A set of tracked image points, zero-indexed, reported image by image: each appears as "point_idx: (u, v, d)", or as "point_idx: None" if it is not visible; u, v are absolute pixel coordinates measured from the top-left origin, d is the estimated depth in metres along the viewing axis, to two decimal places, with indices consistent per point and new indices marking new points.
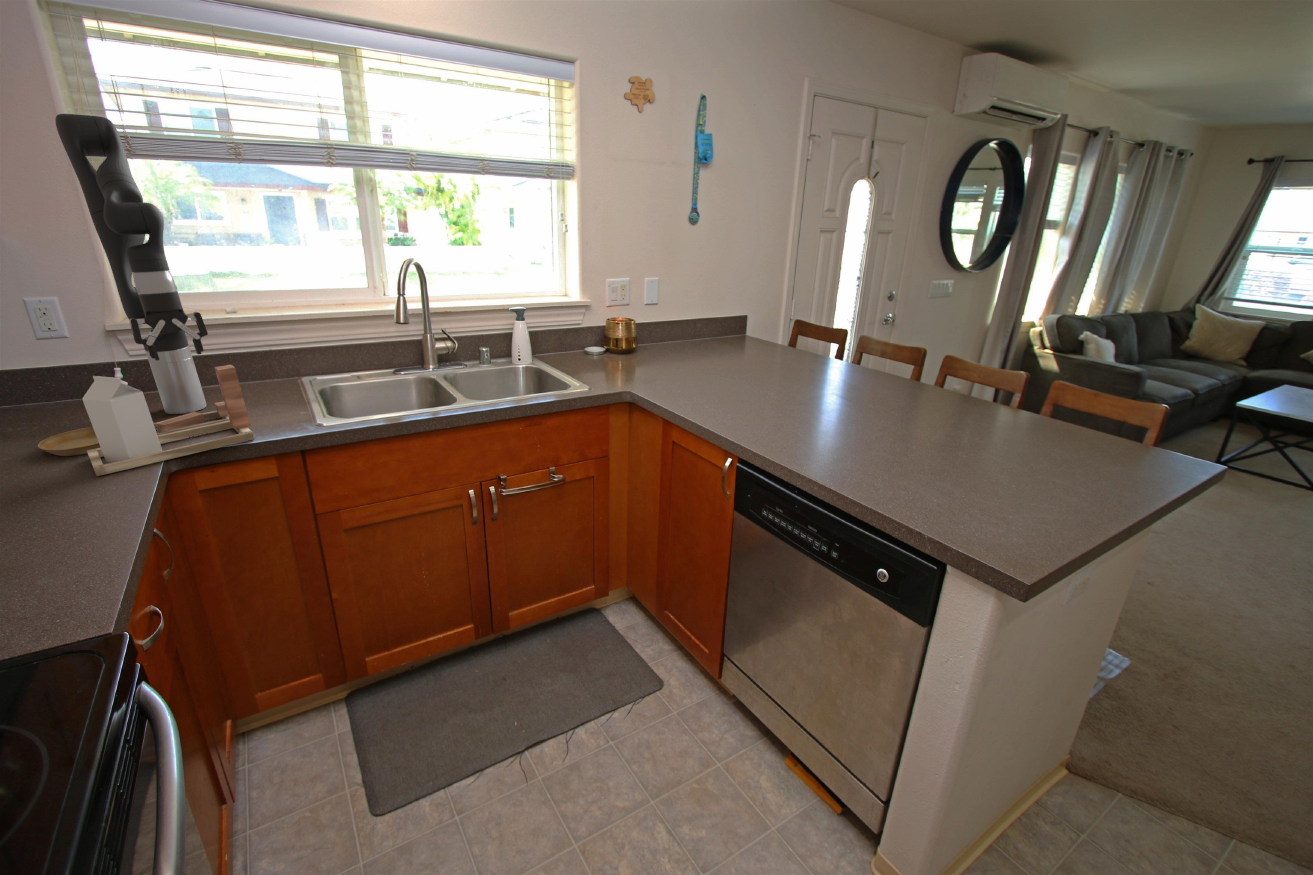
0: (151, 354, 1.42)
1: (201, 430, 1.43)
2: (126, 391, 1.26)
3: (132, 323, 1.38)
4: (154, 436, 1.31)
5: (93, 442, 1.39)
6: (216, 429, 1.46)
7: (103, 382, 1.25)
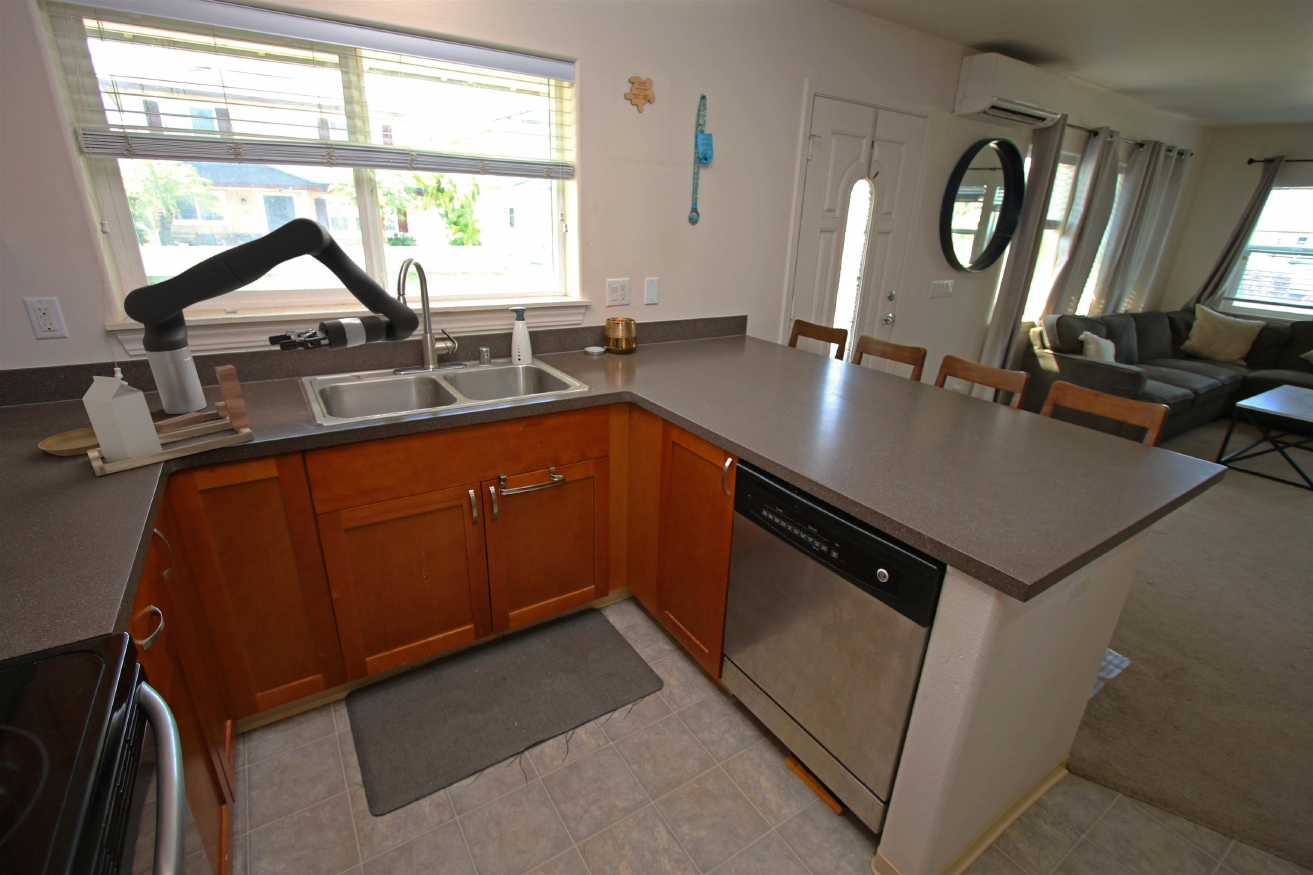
0: (289, 348, 1.43)
1: (201, 430, 1.43)
2: (126, 391, 1.26)
3: None
4: (154, 436, 1.31)
5: (93, 442, 1.39)
6: (216, 429, 1.46)
7: (103, 382, 1.25)
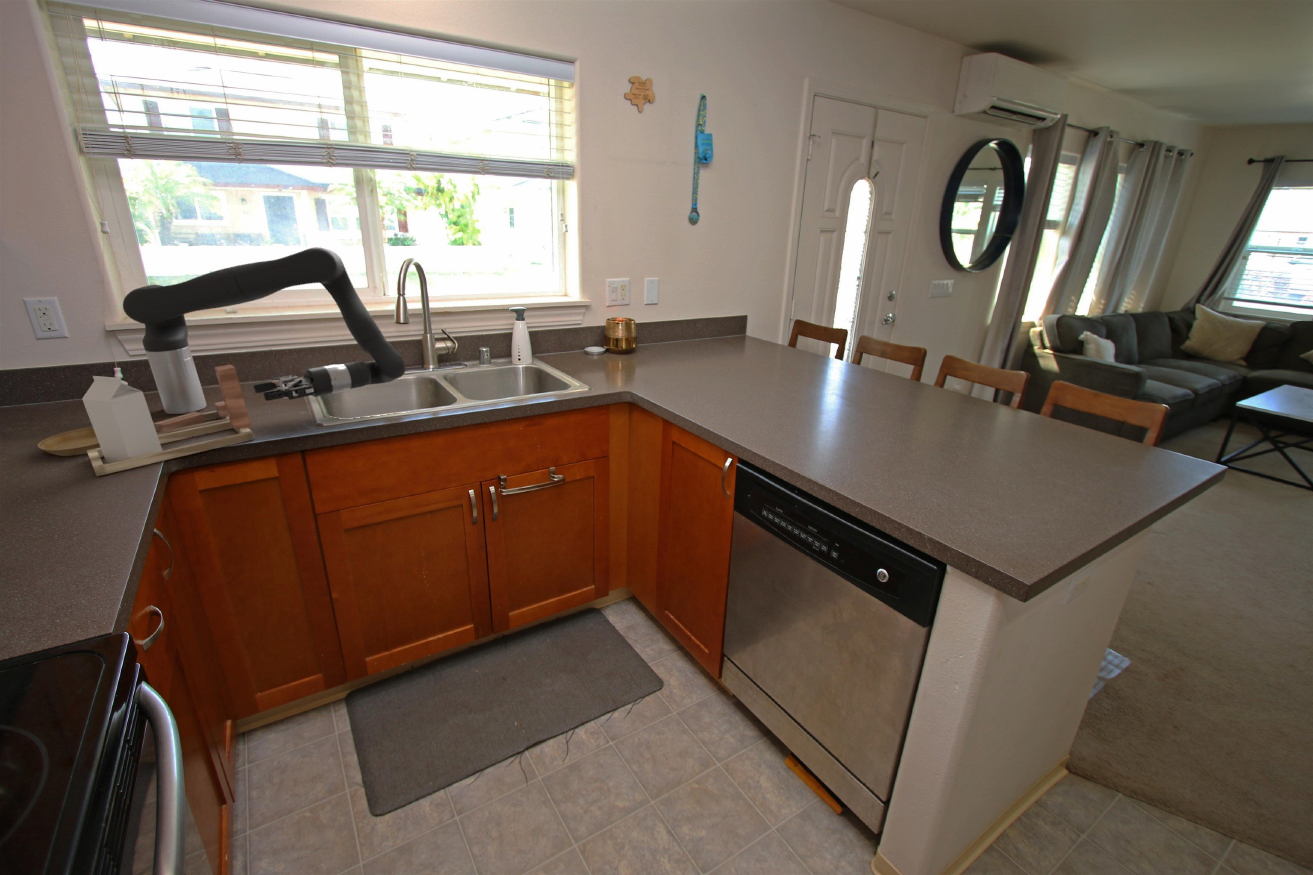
0: None
1: (201, 430, 1.43)
2: (126, 391, 1.26)
3: None
4: (154, 436, 1.31)
5: (93, 442, 1.39)
6: (216, 429, 1.46)
7: (103, 382, 1.25)
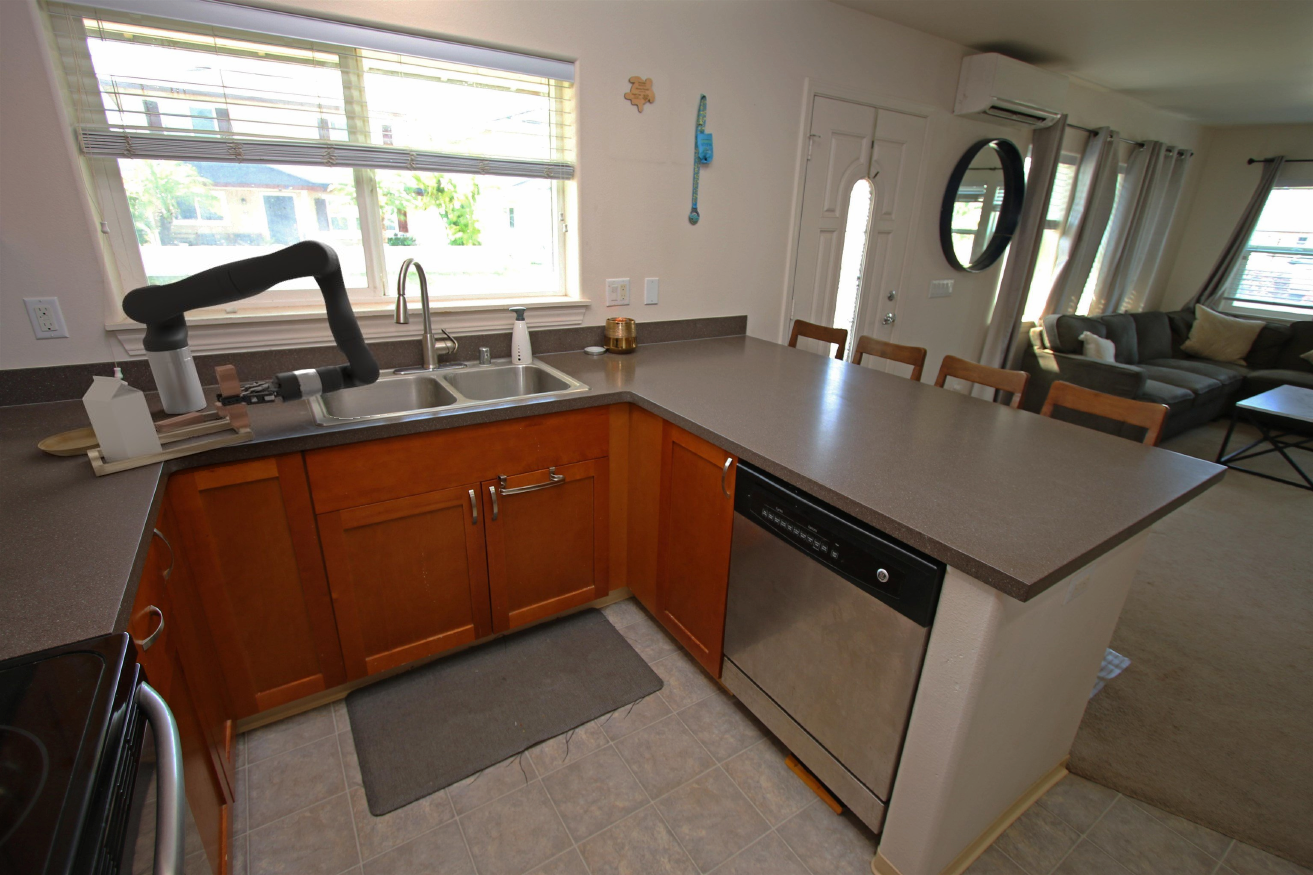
0: None
1: (201, 430, 1.43)
2: (126, 391, 1.26)
3: None
4: (154, 436, 1.31)
5: (93, 442, 1.39)
6: (216, 429, 1.46)
7: (103, 382, 1.25)
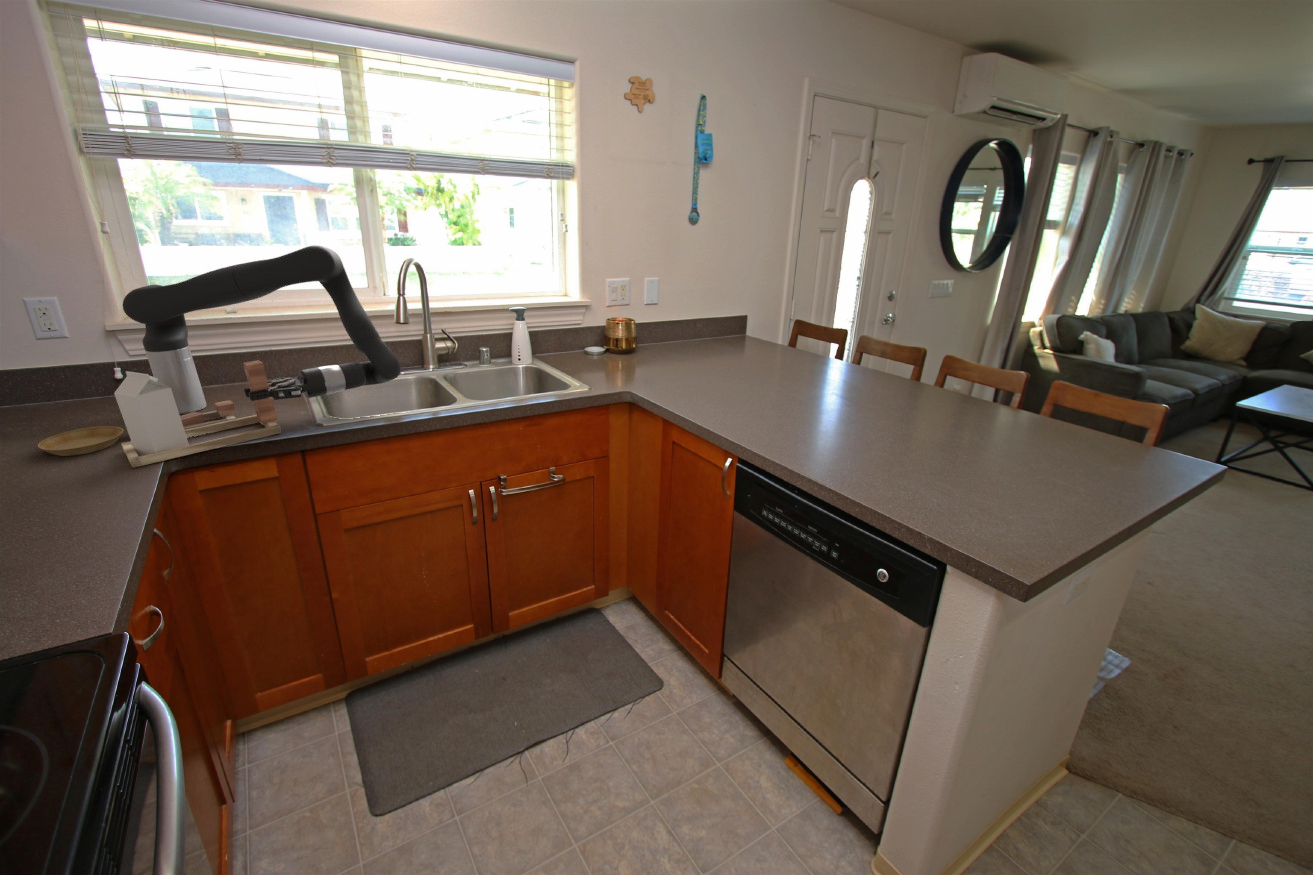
0: None
1: (229, 424, 1.47)
2: (155, 387, 1.29)
3: None
4: (181, 432, 1.34)
5: (93, 442, 1.39)
6: (243, 423, 1.50)
7: (134, 378, 1.28)
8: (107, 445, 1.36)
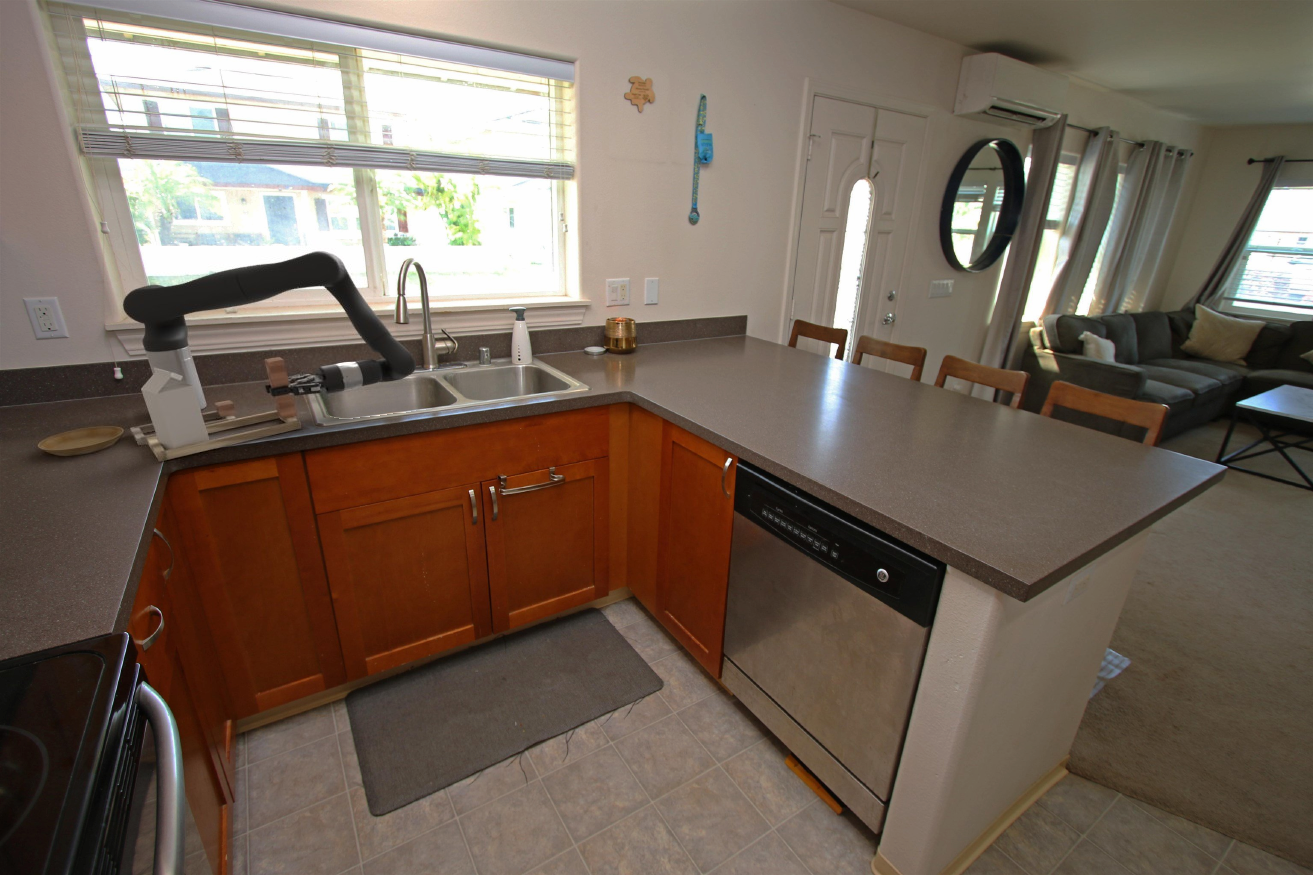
0: None
1: (249, 420, 1.50)
2: (178, 384, 1.31)
3: None
4: (202, 429, 1.36)
5: (93, 442, 1.39)
6: (264, 419, 1.53)
7: (159, 374, 1.30)
8: (107, 445, 1.36)
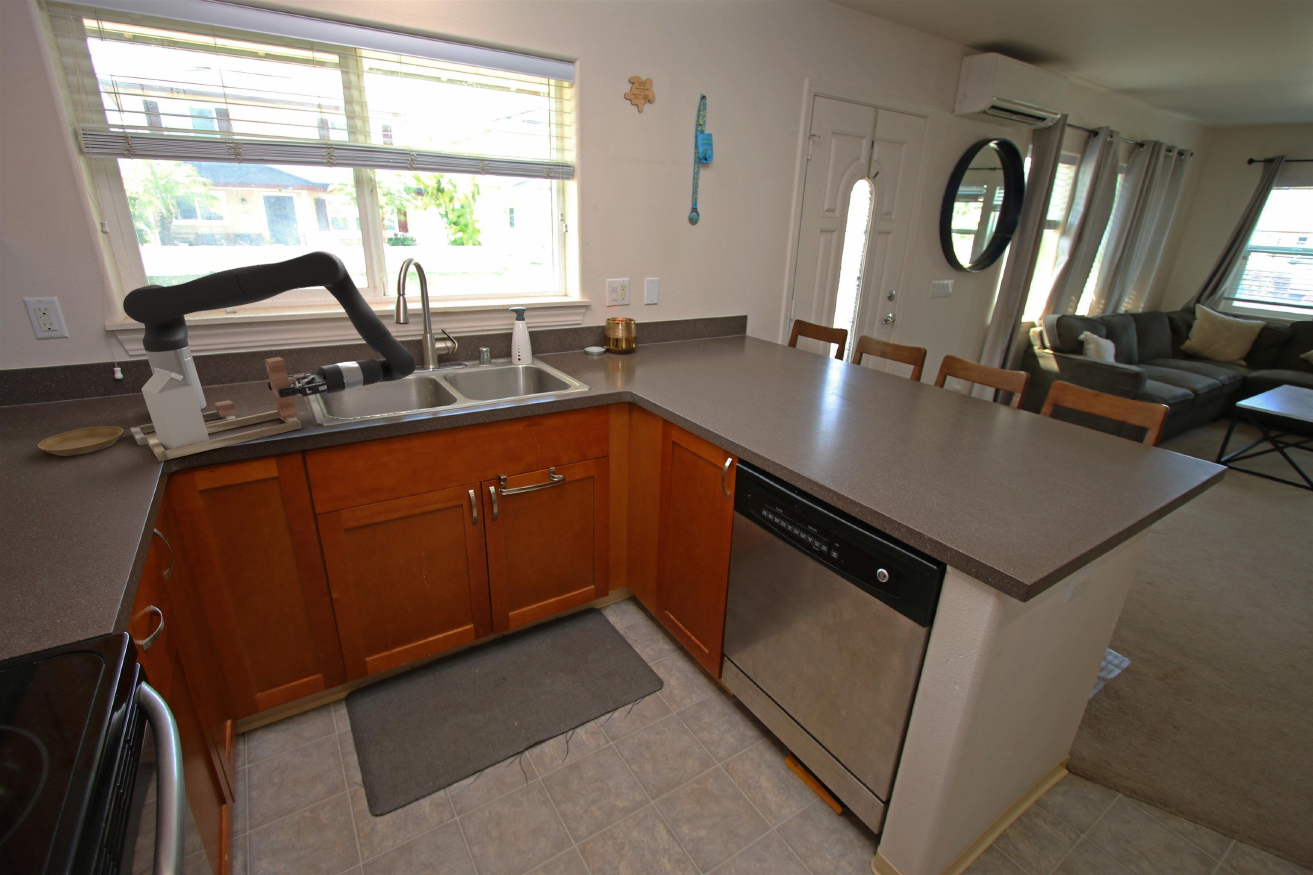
0: None
1: (250, 420, 1.50)
2: (178, 384, 1.31)
3: None
4: (202, 429, 1.36)
5: (93, 442, 1.39)
6: (264, 419, 1.53)
7: (160, 374, 1.30)
8: (107, 445, 1.36)
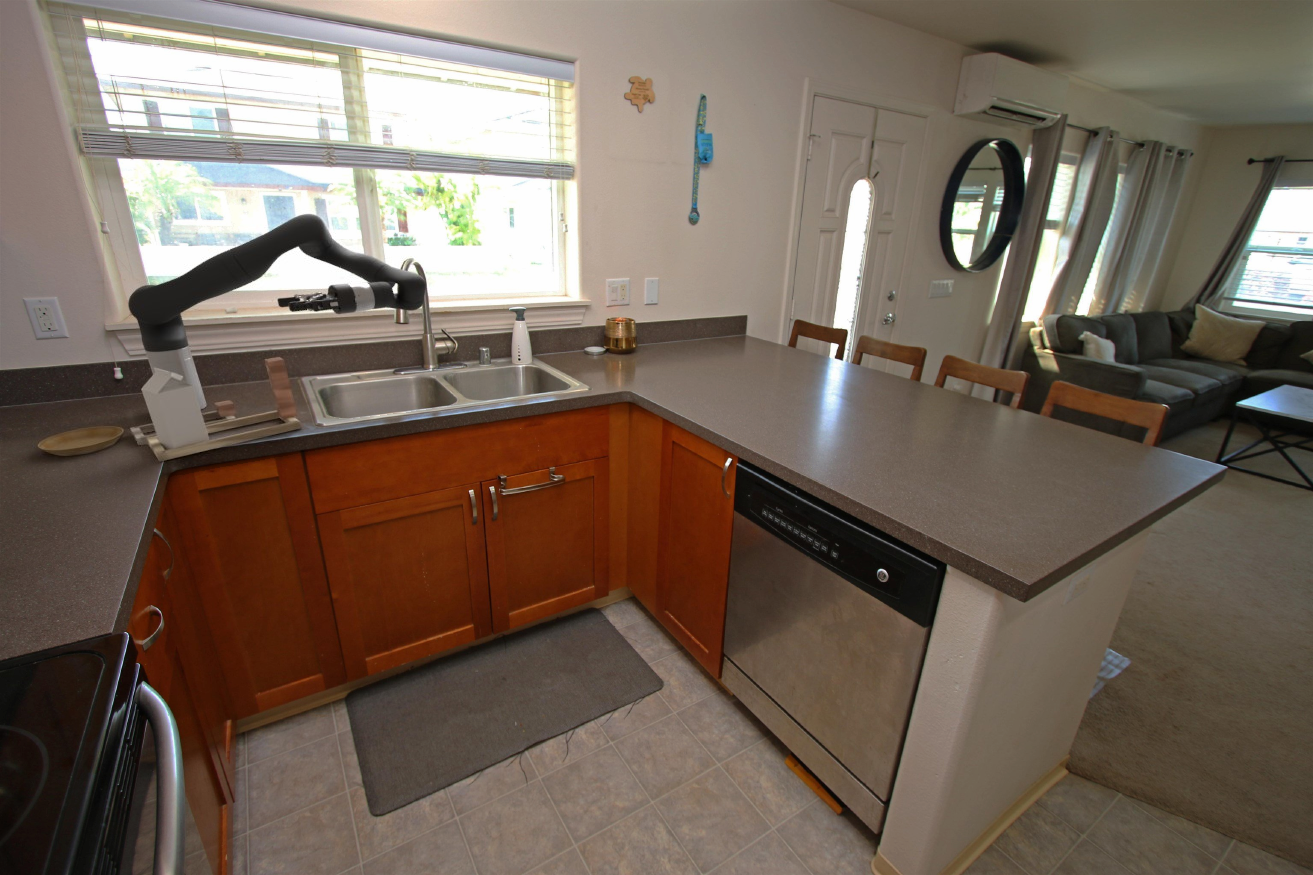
0: (298, 309, 1.43)
1: (250, 420, 1.50)
2: (178, 384, 1.31)
3: None
4: (202, 429, 1.36)
5: (93, 442, 1.39)
6: (264, 419, 1.53)
7: (160, 374, 1.30)
8: (107, 445, 1.36)
